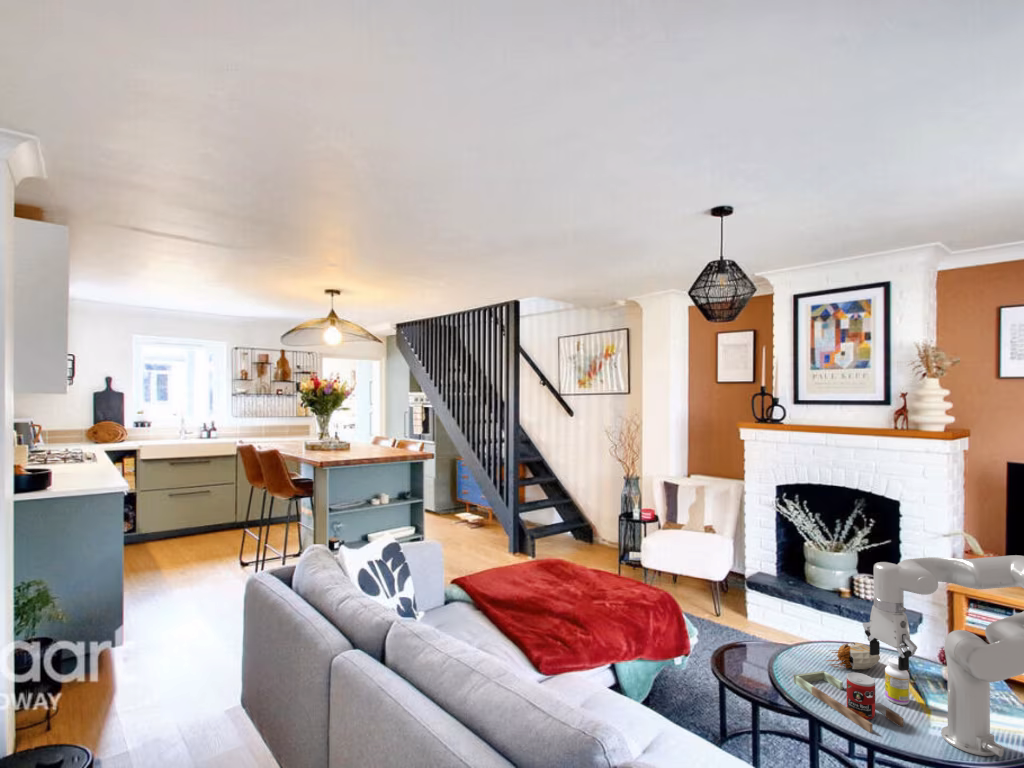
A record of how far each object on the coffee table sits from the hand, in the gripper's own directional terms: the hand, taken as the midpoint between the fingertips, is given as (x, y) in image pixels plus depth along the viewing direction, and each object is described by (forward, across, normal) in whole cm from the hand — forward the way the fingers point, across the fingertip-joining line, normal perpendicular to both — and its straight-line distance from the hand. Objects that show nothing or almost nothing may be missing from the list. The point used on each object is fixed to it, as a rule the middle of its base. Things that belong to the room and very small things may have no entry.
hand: (888, 662), depth 166 cm
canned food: (+21, +9, +1) cm, 23 cm away
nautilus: (+21, +36, -22) cm, 48 cm away
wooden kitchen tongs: (+20, +15, -2) cm, 26 cm away
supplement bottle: (+21, +13, -18) cm, 30 cm away
